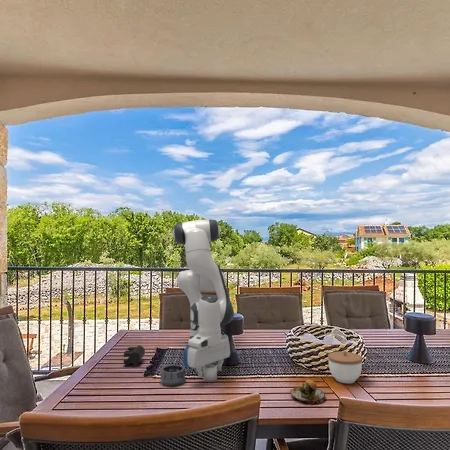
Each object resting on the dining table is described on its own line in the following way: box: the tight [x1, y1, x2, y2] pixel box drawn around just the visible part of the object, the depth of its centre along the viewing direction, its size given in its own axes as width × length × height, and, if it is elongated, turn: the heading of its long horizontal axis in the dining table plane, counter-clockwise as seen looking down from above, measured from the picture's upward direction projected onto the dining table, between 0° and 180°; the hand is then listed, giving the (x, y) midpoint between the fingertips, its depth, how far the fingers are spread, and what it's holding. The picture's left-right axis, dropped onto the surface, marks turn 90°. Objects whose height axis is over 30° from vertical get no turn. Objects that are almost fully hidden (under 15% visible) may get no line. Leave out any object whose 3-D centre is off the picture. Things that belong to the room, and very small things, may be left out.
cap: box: [202, 363, 218, 383], centre depth 145 cm, size 5×5×5 cm
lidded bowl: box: [327, 350, 363, 384], centre depth 144 cm, size 13×13×11 cm
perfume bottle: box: [183, 335, 194, 367], centre depth 163 cm, size 6×6×12 cm
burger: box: [289, 376, 326, 406], centre depth 128 cm, size 12×12×8 cm
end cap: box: [123, 345, 146, 368], centre depth 165 cm, size 10×7×7 cm
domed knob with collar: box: [160, 364, 186, 388], centre depth 142 cm, size 9×9×5 cm
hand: (209, 373), depth 145 cm, fingers open, 8 cm apart
